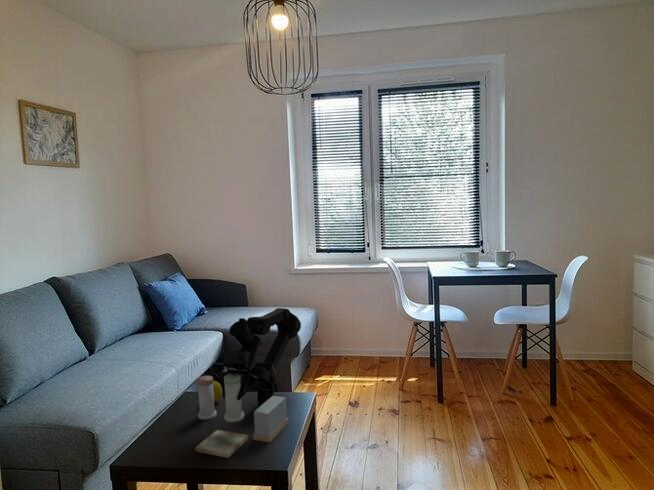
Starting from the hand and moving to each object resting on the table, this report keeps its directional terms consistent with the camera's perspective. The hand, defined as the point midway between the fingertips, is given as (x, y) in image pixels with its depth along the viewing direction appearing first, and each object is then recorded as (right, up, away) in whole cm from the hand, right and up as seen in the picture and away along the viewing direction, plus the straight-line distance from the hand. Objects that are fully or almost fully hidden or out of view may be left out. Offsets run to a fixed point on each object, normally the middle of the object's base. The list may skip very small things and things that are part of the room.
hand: (230, 398), depth 139 cm
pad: (-2, -12, -4) cm, 13 cm away
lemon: (-11, -10, +26) cm, 30 cm away
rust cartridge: (-11, -11, +15) cm, 22 cm away
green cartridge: (+1, -6, +2) cm, 7 cm away
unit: (+12, -11, +3) cm, 17 cm away
